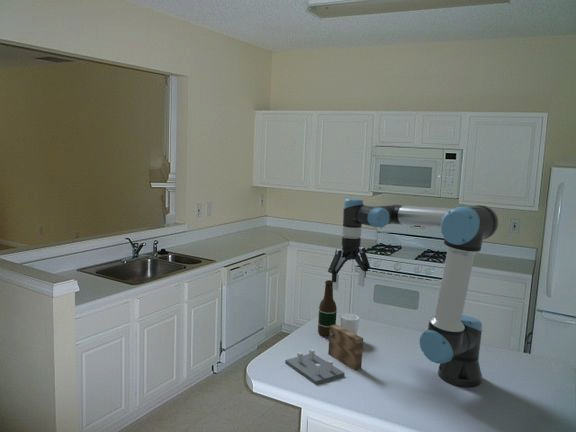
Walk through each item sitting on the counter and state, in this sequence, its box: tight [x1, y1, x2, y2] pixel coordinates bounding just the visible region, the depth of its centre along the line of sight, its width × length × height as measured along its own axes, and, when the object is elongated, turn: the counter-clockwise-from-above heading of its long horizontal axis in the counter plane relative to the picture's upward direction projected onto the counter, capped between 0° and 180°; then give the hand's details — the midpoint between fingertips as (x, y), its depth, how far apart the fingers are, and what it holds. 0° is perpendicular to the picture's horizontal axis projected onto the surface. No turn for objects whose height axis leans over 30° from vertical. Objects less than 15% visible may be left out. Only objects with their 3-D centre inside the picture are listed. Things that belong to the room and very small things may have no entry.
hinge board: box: [285, 348, 345, 385], centre depth 181 cm, size 19×13×5 cm
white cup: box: [340, 313, 360, 335], centre depth 211 cm, size 8×8×10 cm
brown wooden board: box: [327, 323, 364, 371], centre depth 189 cm, size 16×4×12 cm, turn 34°
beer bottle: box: [317, 279, 338, 338], centre depth 214 cm, size 8×8×24 cm
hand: (348, 287), depth 201 cm, fingers open, 13 cm apart
